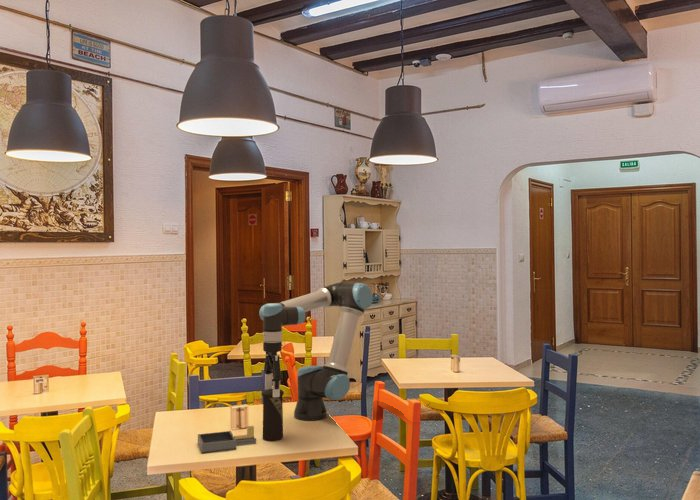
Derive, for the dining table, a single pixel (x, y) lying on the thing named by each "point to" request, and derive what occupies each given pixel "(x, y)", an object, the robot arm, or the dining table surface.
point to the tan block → (249, 434)
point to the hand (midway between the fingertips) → (272, 393)
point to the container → (272, 416)
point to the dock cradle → (216, 442)
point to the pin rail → (246, 441)
